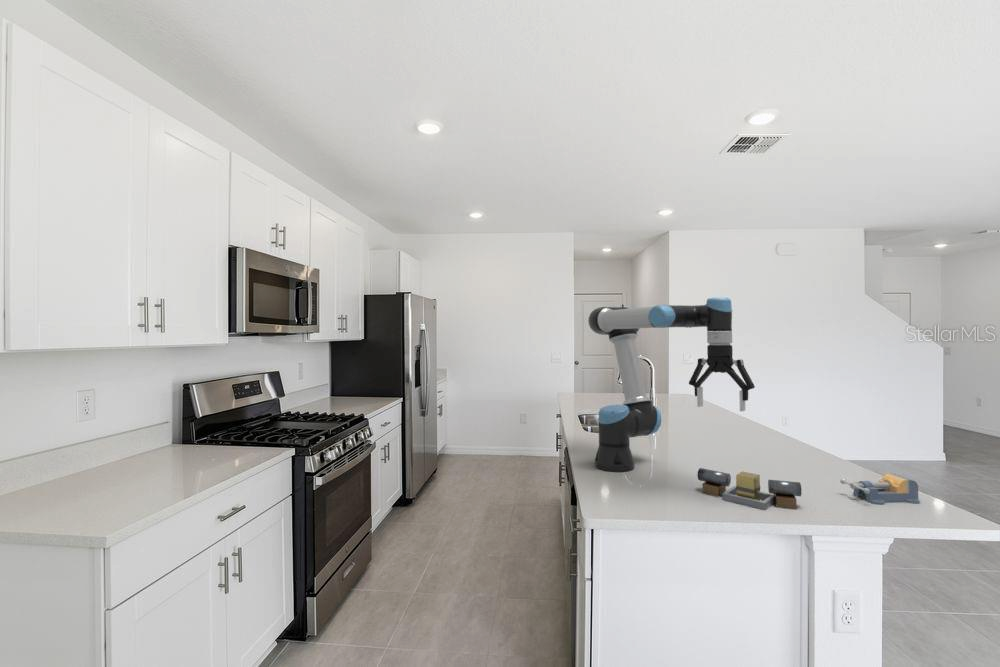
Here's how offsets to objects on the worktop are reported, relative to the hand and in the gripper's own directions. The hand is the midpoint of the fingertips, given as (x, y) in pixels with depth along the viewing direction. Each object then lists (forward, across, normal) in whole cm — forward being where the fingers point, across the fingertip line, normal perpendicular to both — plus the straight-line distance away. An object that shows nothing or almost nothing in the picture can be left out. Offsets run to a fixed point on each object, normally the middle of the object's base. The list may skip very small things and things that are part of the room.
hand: (720, 408), depth 153 cm
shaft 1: (+27, 0, -5) cm, 27 cm away
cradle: (+27, +10, -5) cm, 29 cm away
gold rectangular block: (+27, +10, -5) cm, 29 cm away
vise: (+27, +38, +25) cm, 53 cm away
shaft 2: (+27, +19, -1) cm, 33 cm away
